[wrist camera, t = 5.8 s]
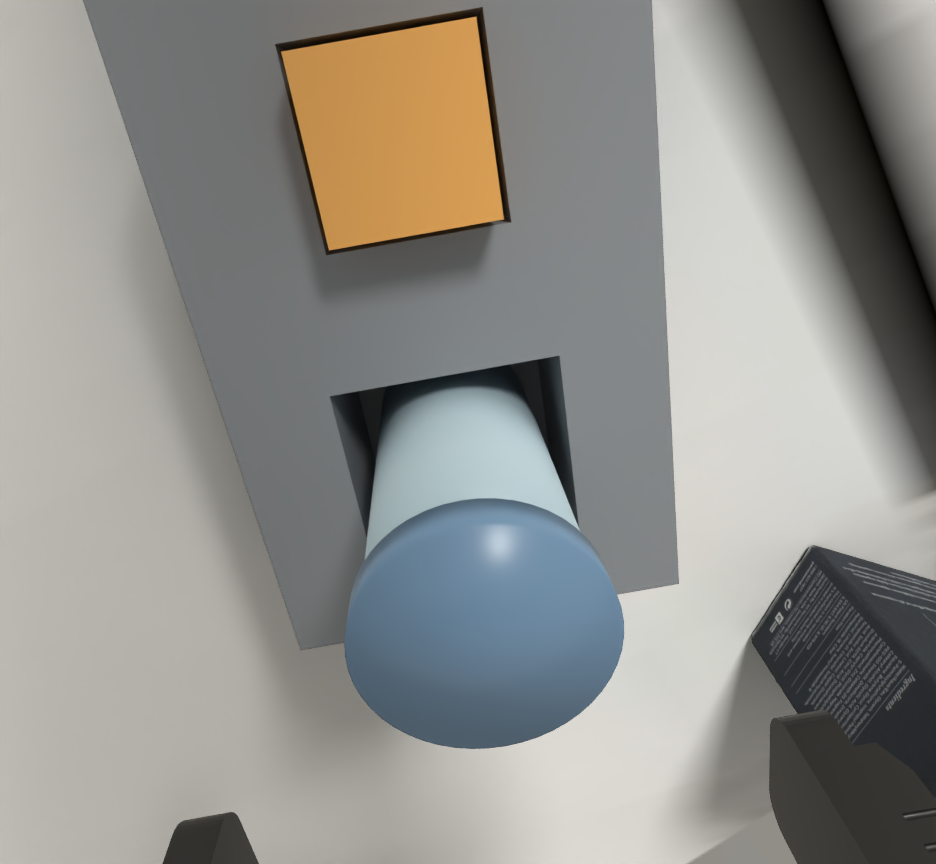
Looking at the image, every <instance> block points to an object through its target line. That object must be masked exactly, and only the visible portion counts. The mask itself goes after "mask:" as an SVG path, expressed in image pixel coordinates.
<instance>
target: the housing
mask: <svg viewBox="0 0 936 864" xmlns="http://www.w3.org/2000/svg"><path fill="white" fill-rule="evenodd" d="M83 2H84V5H85V8H86V11H87V14H88V17H89V20H90V22H91V25H92V28H93V31H94V34H95V37H96V40H97V43H98V46H99V49H100V52H101V55H102V58H103V61H104V64H105V67H106V70H107V73H108V76H109V79H110V82H111V85H112V88H113V91H114V94H115V97H116V100H117V103H118V106H119V109H120V112H121V115H122V118H123V121H124V124H125V127H126V130H127V133H128V136H129V139H130V142H131V145H132V148H133V151H134V154H135V157H136V160H137V163H138V166H139V169H140V172H141V175H142V178H143V181H144V184H145V187H146V190H147V193H148V196H149V199H150V202H151V205H152V208H153V211H154V214H155V217H156V220H157V222H158V225H159V228H160V231H161V234H162V237H163V240H164V243H165V246H166V249H167V252H168V255H169V258H170V261H171V264H172V267H173V270H174V273H175V276H176V279H177V282H178V285H179V288H180V291H181V294H182V297H183V300H184V303H185V306H186V309H187V312H188V315H189V318H190V321H191V324H192V327H193V330H194V333H195V336H196V339H197V342H198V345H199V348H200V351H201V354H202V357H203V360H204V363H205V366H206V369H207V372H208V375H209V378H210V381H211V384H212V387H213V390H214V393H215V396H216V399H217V402H218V405H219V408H220V411H221V414H222V417H223V420H224V422H225V425H226V428H227V431H228V434H229V437H230V440H231V443H232V446H233V449H234V452H235V455H236V458H237V461H238V464H239V467H240V470H241V473H242V476H243V479H244V482H245V485H246V488H247V491H248V494H249V497H250V500H251V503H252V506H253V509H254V512H255V515H256V518H257V521H258V524H259V527H260V530H261V533H262V536H263V539H264V542H265V545H266V548H267V551H268V554H269V557H270V560H271V563H272V566H273V569H274V572H275V575H276V578H277V581H278V584H279V587H280V590H281V593H282V596H283V599H284V602H285V605H286V608H287V611H288V614H289V617H290V620H291V622H292V625H293V628H294V631H295V634H296V637H297V640H298V643H299V646H300V649H301V650H305V649H311V648H316V647H322V646H328V645H333V644H339V643H345V642H344V641H345V633H346V625H347V618H348V610H349V603H350V596H351V591H352V588H353V584H354V581H355V578H356V576H357V574H358V572H359V570H360V567H361V565H362V564H363V562H364V561H365V552H366V544H367V535H368V526H369V518H370V509H371V500H372V492H373V483H374V474H375V466H376V457H377V448H378V440H379V431H380V423H381V414H382V405H383V397H384V394H385V390H386V387H387V386H391V385H396V384H402V383H408V382H413V381H419V380H425V379H430V378H436V377H441V376H447V375H453V374H458V373H464V372H470V371H475V370H481V369H487V368H492V367H498V366H503V365H510V366H511V367H512V369H513V370H514V371H515V373H516V374H517V376H518V378H519V380H520V382H521V384H522V387H523V389H524V392H525V394H526V397H527V399H528V402H529V404H530V407H531V409H532V412H533V414H534V417H535V419H536V422H537V424H538V427H539V429H540V432H541V434H542V437H543V439H544V442H545V444H546V447H547V449H548V452H549V455H550V457H551V460H552V462H553V465H554V467H555V470H556V472H557V475H558V477H559V480H560V482H561V485H562V487H563V490H564V492H565V495H566V497H567V500H568V502H569V505H570V507H571V510H572V512H573V515H574V517H575V520H576V522H577V525H578V527H579V530H580V532H581V533H582V534H583V535H584V536H585V537H586V538H587V539H588V540H589V541H590V542H591V544H592V545H593V546H594V548H595V549H596V550H597V552H598V554H599V556H600V558H601V559H602V561H603V563H604V565H605V568H606V570H607V572H608V575H609V577H610V579H611V582H612V584H613V587H614V589H615V591H616V594H623V593H629V592H634V591H640V590H646V589H651V588H657V587H663V586H669V585H674V584H679V577H678V556H677V534H676V513H675V492H674V470H673V449H672V427H671V406H670V384H669V363H668V342H667V320H666V299H665V277H664V256H663V234H662V213H661V192H660V170H659V149H658V127H657V106H656V84H655V63H654V41H653V20H652V0H83ZM472 17H476V18H477V26H478V33H479V40H480V48H481V55H482V62H483V70H484V77H485V84H486V92H487V99H488V106H489V113H490V121H491V128H492V135H493V143H494V150H495V157H496V165H497V172H498V179H499V187H500V194H501V201H502V209H503V216H504V219H503V220H497V221H492V222H486V223H480V224H475V225H469V226H464V227H458V228H452V229H447V230H441V231H435V232H430V233H424V234H419V235H413V236H407V237H402V238H396V239H391V240H385V241H379V242H374V243H368V244H363V245H357V246H351V247H346V248H340V249H334V250H329V248H328V244H327V240H326V236H325V232H324V227H323V223H322V219H321V215H320V211H319V207H318V203H317V198H316V194H315V190H314V186H313V182H312V178H311V174H310V169H309V165H308V161H307V157H306V153H305V149H304V144H303V140H302V136H301V132H300V128H299V124H298V120H297V115H296V111H295V107H294V103H293V99H292V95H291V90H290V86H289V82H288V78H287V74H286V70H285V66H284V61H283V57H282V53H281V52H282V51H288V50H293V49H299V48H304V47H310V46H316V45H321V44H327V43H332V42H338V41H343V40H349V39H355V38H360V37H366V36H371V35H377V34H382V33H388V32H394V31H399V30H405V29H410V28H416V27H421V26H427V25H433V24H438V23H444V22H449V21H455V20H460V19H466V18H472Z"/></svg>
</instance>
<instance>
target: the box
mask: <svg viewBox="0 0 936 864" xmlns="http://www.w3.org/2000/svg"><path fill="white" fill-rule="evenodd" d="M752 644H753V645H754V647H755V648H756V650H757V651H758V653H759V654H760V656H761V657H762V659H763V661H764V662H765V664H766V665H767V667H768V668H769V670H770V672H771V673H772V675H773V676H774V678H775V679H776V681H777V683H778V684H779V685H780V687H781V688H782V690H783V692H784V693H785V695H786V696H787V698H788V699H789V701H790V702H791V704H792V706H793V707H794V709H795V710H796V712H797V713H798V714H802V713H808V712H813V711H819V710H825V711H827V712H828V713H830V714H831V715H832V716H833V717H834V719H835V720H836V721H837V723H838V724H839V725H840V727H841V728H842V730H843V731H844V732H845V734H846V735H847V737H848V738H849V740H850V741H851V742H852V744H853V745H854V746H858V745H864V744H869V743H875V742H876V743H877V744H878V745H880V746H881V747H882V748H884V749H885V750H886V751H888V752H889V753H890V754H892V755H893V756H894V757H896V758H897V759H899V760H900V761H901V762H903V763H904V764H905V765H907V766H908V767H909V768H911V769H912V770H913V771H914V772H915V773H916V774H917V776H918V777H919V778H920V780H921V781H922V782H923V784H924V785H925V786H926V787H927V789H928V790H929V791H930V793H931V794H932V795H933V796H934V798H935V799H936V581H933V580H929V579H926V578H923V577H919V576H917V575H913V574H910V573H907V572H903V571H900V570H896V569H893V568H889V567H886V566H883V565H879V564H876V563H873V562H869V561H866V560H862V559H859V558H856V557H852V556H849V555H845V554H842V553H838V552H835V551H832V550H829V549H825V548H821V547H818V546H814V545H813V546H810V547H809V549H808V551H807V552H806V554H805V555H804V557H803V558H802V560H801V561H800V563H799V564H798V565H797V566H796V568H795V570H794V572H793V573H792V574H791V576H790V578H789V579H788V580H787V581H786V583H785V585H784V587H783V588H782V590H781V591H780V593H779V594H778V595H777V597H776V599H775V600H774V602H773V603H772V605H771V607H770V608H769V610H768V612H767V613H766V614H765V616H764V618H763V619H762V620H761V622H760V624H759V625H758V627H757V629H756V630H755V631H754V632H753V634H752Z"/></svg>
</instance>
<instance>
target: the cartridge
mask: <svg viewBox="0 0 936 864" xmlns="http://www.w3.org/2000/svg"><path fill="white" fill-rule="evenodd" d="M623 639H624V620H623V614H622V608H621V605H620V602H619V599H618V597H617V594H616V591H615V589H614V587H613V584H612V582H611V579H610V577H609V575H608V572H607V570H606V568H605V565H604V563H603V561H602V559H601V558H600V556H599V554H598V552H597V550H596V549H595V548H594V546H593V545H592V544H591V542H590V541H589V540H588V539H587V538H586V537H585V536H584V535H583V534H582V533H581V532H580V530H579V527H578V525H577V522H576V520H575V517H574V515H573V512H572V510H571V507H570V505H569V502H568V500H567V497H566V495H565V492H564V490H563V487H562V485H561V482H560V480H559V477H558V475H557V472H556V470H555V467H554V465H553V462H552V460H551V457H550V455H549V452H548V449H547V447H546V444H545V442H544V439H543V437H542V434H541V432H540V429H539V427H538V424H537V422H536V419H535V417H534V414H533V412H532V409H531V407H530V404H529V402H528V399H527V397H526V394H525V392H524V389H523V387H522V384H521V382H520V380H519V378H518V376H517V374H516V373H515V371H514V370H513V369H512V367H511V366H510V365H503V366H498V367H492V368H487V369H481V370H475V371H470V372H464V373H458V374H453V375H447V376H441V377H436V378H430V379H425V380H419V381H413V382H408V383H402V384H396V385H391V386H387V387H386V390H385V394H384V397H383V405H382V414H381V423H380V431H379V440H378V448H377V457H376V466H375V474H374V483H373V492H372V500H371V509H370V518H369V526H368V535H367V544H366V552H365V561H364V562H363V564H362V565H361V567H360V570H359V572H358V574H357V576H356V578H355V581H354V584H353V588H352V591H351V596H350V603H349V610H348V618H347V625H346V633H345V641H344V642H345V658H346V662H347V667H348V671H349V674H350V676H351V679H352V681H353V684H354V685H355V687H356V689H357V691H358V692H359V694H360V696H361V697H362V698H363V700H364V701H365V702H366V703H367V704H368V706H369V707H370V708H371V709H372V710H373V711H374V712H375V713H376V714H377V715H378V716H380V717H381V718H382V719H383V720H385V721H386V722H387V723H389V724H390V725H392V726H393V727H395V728H397V729H398V730H400V731H402V732H404V733H406V734H408V735H410V736H413V737H415V738H418V739H420V740H423V741H426V742H430V743H434V744H437V745H442V746H448V747H454V748H468V749H480V748H495V747H502V746H508V745H513V744H517V743H522V742H525V741H528V740H531V739H534V738H537V737H539V736H542V735H544V734H546V733H548V732H551V731H553V730H555V729H556V728H558V727H560V726H562V725H564V724H565V723H567V722H568V721H570V720H571V719H573V718H574V717H575V716H577V715H578V714H580V713H581V712H582V711H583V710H584V709H585V708H586V707H588V706H589V705H590V704H591V703H592V702H593V701H594V700H595V698H596V697H597V696H598V695H599V694H600V693H601V692H602V690H603V689H604V687H605V686H606V684H607V683H608V681H609V680H610V678H611V677H612V674H613V672H614V670H615V668H616V666H617V664H618V661H619V658H620V655H621V651H622V646H623Z"/></svg>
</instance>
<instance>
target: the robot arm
mask: <svg viewBox="0 0 936 864" xmlns="http://www.w3.org/2000/svg"><path fill="white" fill-rule="evenodd" d="M769 791H770V798H771V803H772V807H773V810H774V813H775V817H776V820H777V823H778V825H779V828H780V830H781V832H782V834H783V836H784V839H785V840H786V842H787V844H788V846H789V848H790V850H791V852H792V854H793V856H794V857H795V860H796V862H797V864H936V799H935V798H934V796H933V795H932V794H931V793H930V791H929V790H928V789H927V787H926V786H925V785H924V784H923V782H922V781H921V780H920V778H919V777H918V776H917V774H916V773H915V772H914V771H913V770H912V769H911V768H909V767H908V766H907V765H905V764H904V763H903V762H901V761H900V760H899V759H897V758H896V757H894V756H893V755H892V754H890V753H889V752H888V751H886V750H885V749H884V748H882V747H881V746H880V745H878V744H877V743H876V742H875V743H869V744H864V745H858V746H854V745H853V744H852V742H851V741H850V740H849V738H848V737H847V735H846V734H845V732H844V731H843V730H842V728H841V727H840V725H839V724H838V723H837V721H836V720H835V719H834V717H833V716H832V715H831V714H830V713H828V712H827V711H825V710H819V711H813V712H808V713H802V714H796V715H791V716H785V717H779V718H774V719H773V720H772V721H771V725H770V775H769ZM163 864H259V863H258V861H257V859H256V856H255V854H254V852H253V850H252V847H251V845H250V843H249V840H248V838H247V836H246V833H245V831H244V829H243V826H242V824H241V822H240V820H239V818H238V816H237V815H236V814H235V813H234V812H230V813H224V814H218V815H213V816H207V817H201V818H196V819H190V820H184V821H182V822H180V823H179V824H178V826H177V827H176V829H175V831H174V833H173V835H172V838H171V841H170V844H169V847H168V850H167V853H166V856H165V858H164V861H163Z"/></svg>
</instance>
